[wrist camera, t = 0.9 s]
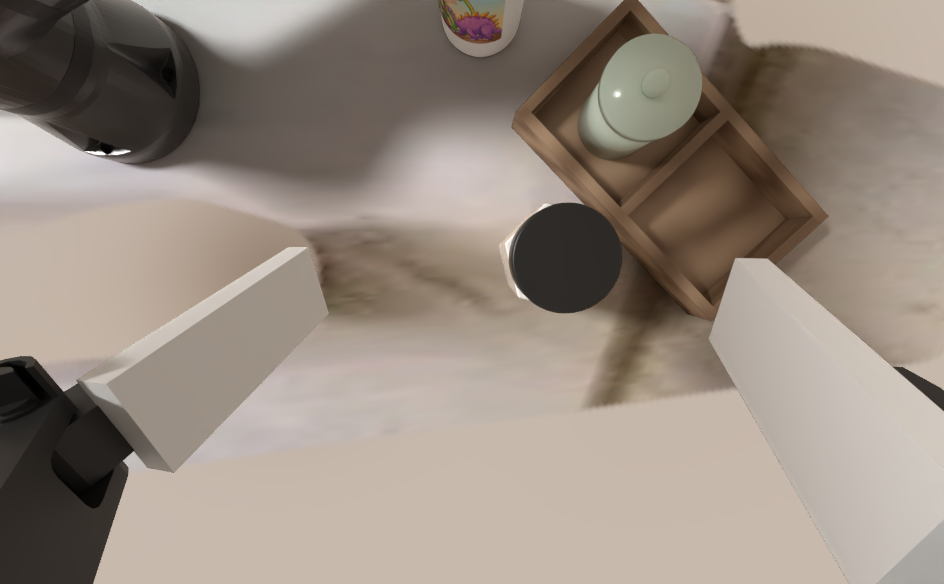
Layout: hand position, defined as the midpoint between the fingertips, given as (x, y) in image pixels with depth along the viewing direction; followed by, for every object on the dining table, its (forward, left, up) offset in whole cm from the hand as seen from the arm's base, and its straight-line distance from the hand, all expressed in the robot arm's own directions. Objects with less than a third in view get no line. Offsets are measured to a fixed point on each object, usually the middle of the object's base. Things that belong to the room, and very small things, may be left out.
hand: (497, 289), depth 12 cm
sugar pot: (-1, +19, -26) cm, 32 cm away
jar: (+4, +5, -27) cm, 28 cm away
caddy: (+6, +19, -27) cm, 33 cm away
